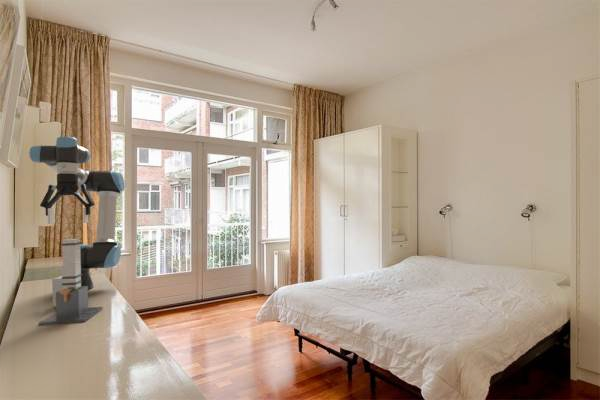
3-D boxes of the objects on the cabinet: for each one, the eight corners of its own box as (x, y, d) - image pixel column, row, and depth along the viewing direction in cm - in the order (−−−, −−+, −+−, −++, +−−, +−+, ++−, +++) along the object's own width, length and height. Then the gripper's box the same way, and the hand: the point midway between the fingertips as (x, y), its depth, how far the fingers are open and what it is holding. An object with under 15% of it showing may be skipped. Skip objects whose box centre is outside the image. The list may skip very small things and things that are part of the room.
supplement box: (80, 302, 156) (79, 274, 156) (67, 307, 149) (67, 278, 149) (65, 302, 157) (64, 274, 157) (52, 307, 150) (51, 278, 150)
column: (68, 293, 138) (67, 239, 138) (82, 292, 139) (81, 238, 139) (62, 296, 133) (61, 240, 133) (76, 296, 134) (75, 239, 134)
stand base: (61, 311, 143) (60, 283, 143) (102, 308, 145) (102, 281, 145) (38, 325, 127) (38, 293, 127) (85, 321, 130) (85, 290, 130)
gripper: (29, 172, 140) (30, 224, 140) (95, 172, 145) (96, 222, 145) (40, 174, 148) (41, 223, 148) (102, 174, 152) (103, 221, 152)
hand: (68, 223), depth 146 cm, fingers open, 13 cm apart
